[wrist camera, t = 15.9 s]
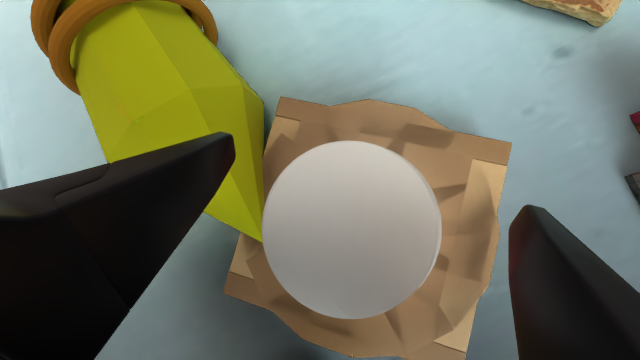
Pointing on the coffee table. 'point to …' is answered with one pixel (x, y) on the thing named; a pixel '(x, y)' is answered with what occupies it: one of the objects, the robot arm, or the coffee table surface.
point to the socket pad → (456, 217)
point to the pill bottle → (351, 229)
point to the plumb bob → (158, 87)
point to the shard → (582, 9)
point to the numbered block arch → (636, 181)
